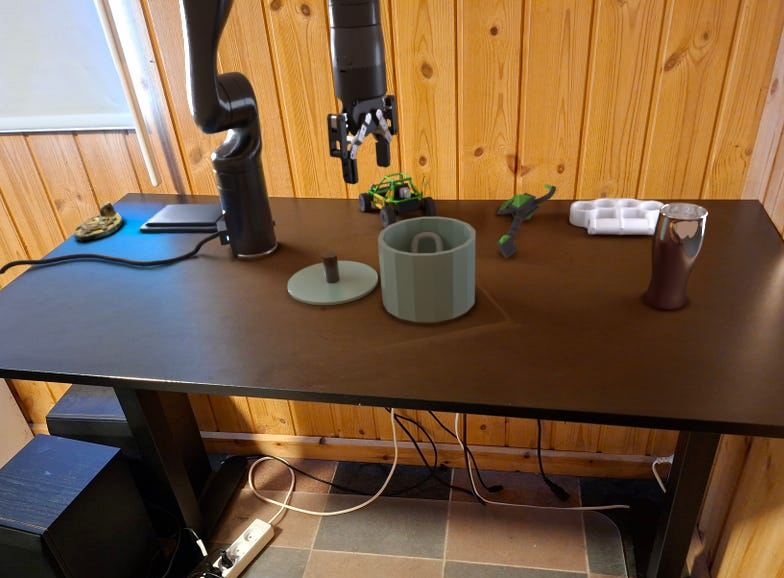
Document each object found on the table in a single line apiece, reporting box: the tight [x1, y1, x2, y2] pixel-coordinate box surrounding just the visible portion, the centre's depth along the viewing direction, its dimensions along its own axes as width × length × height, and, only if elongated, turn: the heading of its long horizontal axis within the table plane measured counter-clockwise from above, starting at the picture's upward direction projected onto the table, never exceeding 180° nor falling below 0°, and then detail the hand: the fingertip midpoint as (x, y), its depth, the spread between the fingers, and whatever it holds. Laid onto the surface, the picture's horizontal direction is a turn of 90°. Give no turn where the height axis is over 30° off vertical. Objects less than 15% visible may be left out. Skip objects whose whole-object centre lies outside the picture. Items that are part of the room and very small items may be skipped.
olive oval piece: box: [74, 201, 124, 241], centre depth 144 cm, size 9×5×15 cm
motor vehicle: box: [358, 172, 438, 229], centre depth 136 cm, size 12×19×11 cm, turn 23°
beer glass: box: [644, 202, 709, 311], centre depth 97 cm, size 7×7×15 cm
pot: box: [377, 216, 476, 323], centre depth 103 cm, size 15×15×12 cm
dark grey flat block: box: [139, 203, 224, 233], centre depth 146 cm, size 20×2×15 cm
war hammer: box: [496, 184, 557, 259], centre depth 127 cm, size 6×13×30 cm
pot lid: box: [287, 251, 379, 306], centre depth 111 cm, size 16×16×6 cm
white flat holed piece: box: [569, 197, 665, 236], centre depth 126 cm, size 3×18×15 cm
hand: (368, 174), depth 98 cm, fingers open, 8 cm apart
